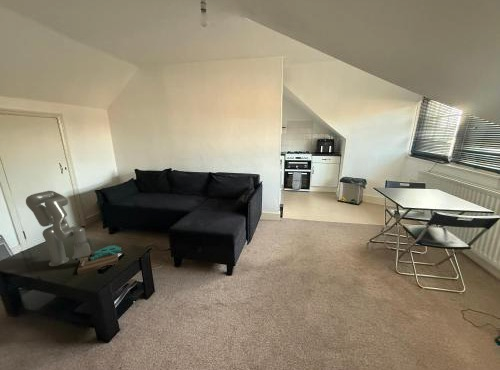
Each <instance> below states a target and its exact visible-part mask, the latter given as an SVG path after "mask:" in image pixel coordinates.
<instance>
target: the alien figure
mask: <svg viewBox="0 0 500 370" xmlns="http://www.w3.org/2000/svg"><path fill="white" fill-rule="evenodd" d="M121 251H122V247H120V246H118V245H115V244H114V245H108V246H105V247H103V248H100V249H98V250H96V251H94V252H95V253H94V254H93V255H94V256H93V257H92V256H91V257H90V258H91V260H95V259H99V258H102V256H106V255H109V256H111V255H115V254H118V253H119V252H121ZM117 252H118V253H117ZM118 255H119V254H118Z"/></svg>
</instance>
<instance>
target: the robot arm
mask: <svg viewBox="0 0 500 370" xmlns="http://www.w3.org/2000/svg"><path fill="white" fill-rule="evenodd" d="M43 203H44V205H43ZM25 204H26V206H27V208H28V209H29V210H30V211H31V212H32V214H33V215H34V216H35V219H36V220H37V222H38V224H39V225H40V226H41V227H42V228H43V227H44V228H45V227H47V228H45V229H43V231H42V233H41V234H42V237H43V239H44V241H45V243H46V247H47V250H48V254H49V255H48V256H49V259H50V261H49V263H48V265H49V266H50V267H58V266H61V265H63V264H66V263H68V261H70V257H68V256H67V255H66V250H65V246H64V241H67V240H68V239H70V238H71V239H72V237H73V241H74V242H73V243H72V245H73V253H74V254H73V255H72V257H71V259H72V260H76V261H77V262H78V265H79V264H80V258H81V257H85V256H87V257H88V261H91V257H92V256H93V255H94V253H95V251H94V250H92V249H91V247H90V244H89V242H88V240H87V236H86V230H85V228H84V227H82V226H80V227H78V226H75V225H74V226H70V225H69V223H68V221H67V219H66V217H67V216H68V213H67V211H66V210H65V209H64V206H65V207H66V206H67V205H68V204H69V200H68V199H67V198H66V196H64V195H63V194H60V193H59V192H56V191H54V190H47V191H43V192H36V193H32V194H31V195H30V194H29V196H27V197H26V199H25Z"/></svg>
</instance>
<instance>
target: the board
mask: <svg viewBox="0 0 500 370" xmlns="http://www.w3.org/2000/svg"><path fill="white" fill-rule="evenodd" d="M117 263H118V264H119V254H115V255H108V256H103V257H98V258H96V259H94V260H91V261H87V262H84V266H83V267H81V264H82V263H80V264H79V263H78V266H77V271H76V272H77V275H81V274H85V273H89V272H92V271H96V270H100V269H99V268H101V267H103V266H106V265H112V266H115V265H118V264H117ZM114 264H115V265H114ZM101 269H102V268H101Z"/></svg>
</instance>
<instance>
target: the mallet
mask: <svg viewBox="0 0 500 370" xmlns="http://www.w3.org/2000/svg"><path fill="white" fill-rule="evenodd" d="M87 261H88V257H87V256H85V257H81V258H80V263H82V264H81V267H83V266H84V262H87Z"/></svg>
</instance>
